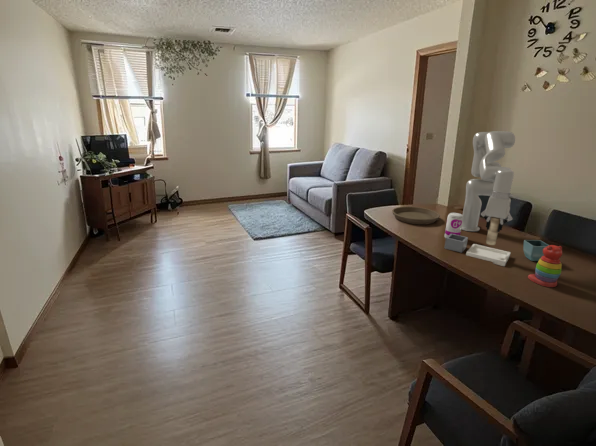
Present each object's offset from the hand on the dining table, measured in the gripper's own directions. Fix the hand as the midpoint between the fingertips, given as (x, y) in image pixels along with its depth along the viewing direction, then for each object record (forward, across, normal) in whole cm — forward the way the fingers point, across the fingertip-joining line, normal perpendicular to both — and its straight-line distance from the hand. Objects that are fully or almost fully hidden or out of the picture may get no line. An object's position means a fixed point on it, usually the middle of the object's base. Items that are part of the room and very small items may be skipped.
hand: (493, 229), depth 182 cm
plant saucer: (+15, +53, -38) cm, 67 cm away
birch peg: (+8, 0, 0) cm, 8 cm away
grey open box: (+15, +16, +1) cm, 22 cm away
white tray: (+15, 0, 0) cm, 15 cm away
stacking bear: (+15, -26, +14) cm, 33 cm away
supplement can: (+15, +22, -14) cm, 30 cm away
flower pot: (+15, -19, -12) cm, 27 cm away
